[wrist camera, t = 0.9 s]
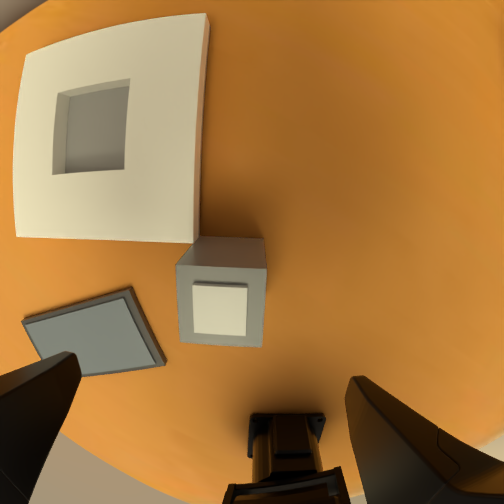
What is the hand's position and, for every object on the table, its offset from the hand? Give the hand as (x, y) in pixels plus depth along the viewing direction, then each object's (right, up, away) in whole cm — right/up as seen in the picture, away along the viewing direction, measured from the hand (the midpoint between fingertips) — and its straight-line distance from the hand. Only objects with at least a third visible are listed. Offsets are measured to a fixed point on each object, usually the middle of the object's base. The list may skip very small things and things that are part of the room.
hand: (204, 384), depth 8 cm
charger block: (0, +3, +11) cm, 11 cm away
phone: (-12, -3, +13) cm, 18 cm away
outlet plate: (-9, +12, +8) cm, 17 cm away
